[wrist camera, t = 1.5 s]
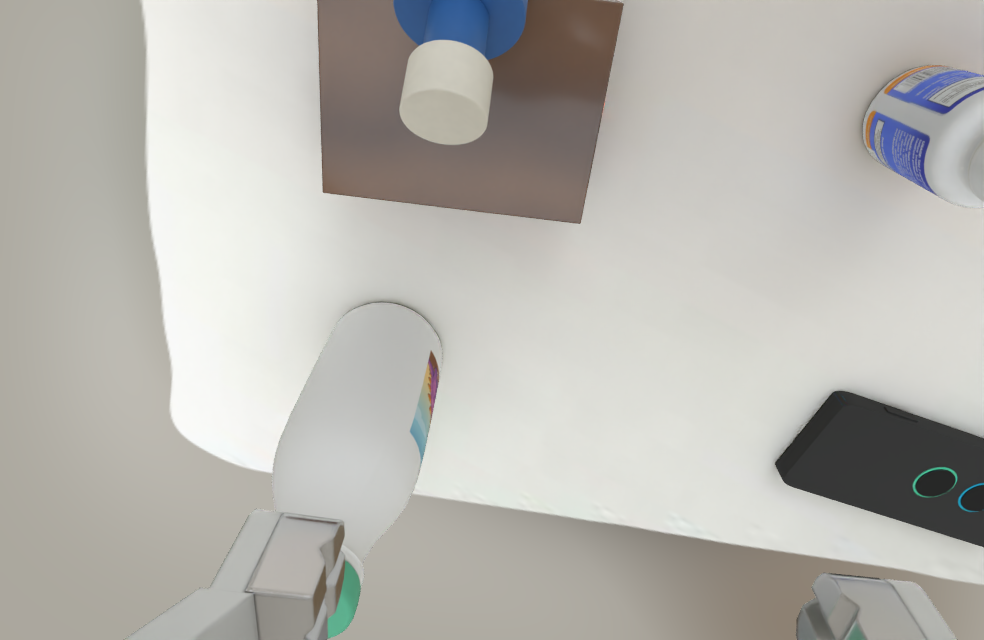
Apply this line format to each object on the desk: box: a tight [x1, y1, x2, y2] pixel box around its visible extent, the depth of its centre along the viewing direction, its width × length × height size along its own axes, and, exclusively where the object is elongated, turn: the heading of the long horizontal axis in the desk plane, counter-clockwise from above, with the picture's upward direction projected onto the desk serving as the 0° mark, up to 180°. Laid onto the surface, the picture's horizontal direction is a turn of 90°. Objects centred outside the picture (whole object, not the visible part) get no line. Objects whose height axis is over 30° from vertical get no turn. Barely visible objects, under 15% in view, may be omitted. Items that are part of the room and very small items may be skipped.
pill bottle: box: [863, 65, 984, 208], centre depth 30 cm, size 5×5×10 cm
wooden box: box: [317, 0, 624, 224], centre depth 31 cm, size 10×13×6 cm
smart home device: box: [775, 391, 984, 547], centre depth 46 cm, size 8×2×20 cm
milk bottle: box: [272, 302, 442, 639], centre depth 34 cm, size 8×8×20 cm
